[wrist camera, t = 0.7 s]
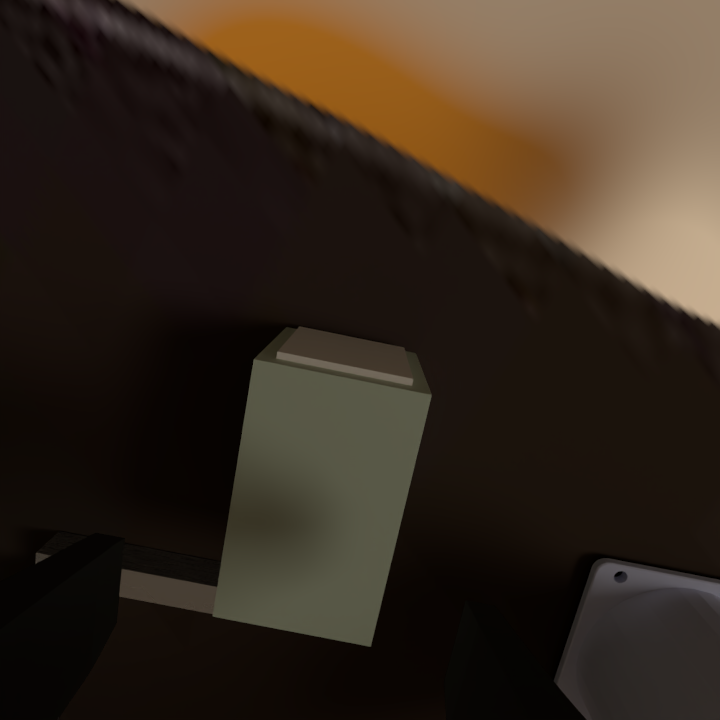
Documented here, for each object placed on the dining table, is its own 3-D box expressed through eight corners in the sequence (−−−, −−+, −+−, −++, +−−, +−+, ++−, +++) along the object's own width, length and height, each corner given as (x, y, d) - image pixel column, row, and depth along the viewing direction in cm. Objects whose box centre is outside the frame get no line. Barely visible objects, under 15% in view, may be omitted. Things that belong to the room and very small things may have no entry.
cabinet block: (416, 347, 19) (433, 387, 14) (371, 543, 21) (370, 646, 16) (288, 321, 19) (255, 351, 14) (253, 520, 21) (212, 616, 16)
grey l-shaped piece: (267, 570, 21) (250, 622, 18) (230, 776, 24) (210, 852, 21) (59, 531, 21) (8, 577, 18) (43, 742, 23) (-4, 814, 21)
